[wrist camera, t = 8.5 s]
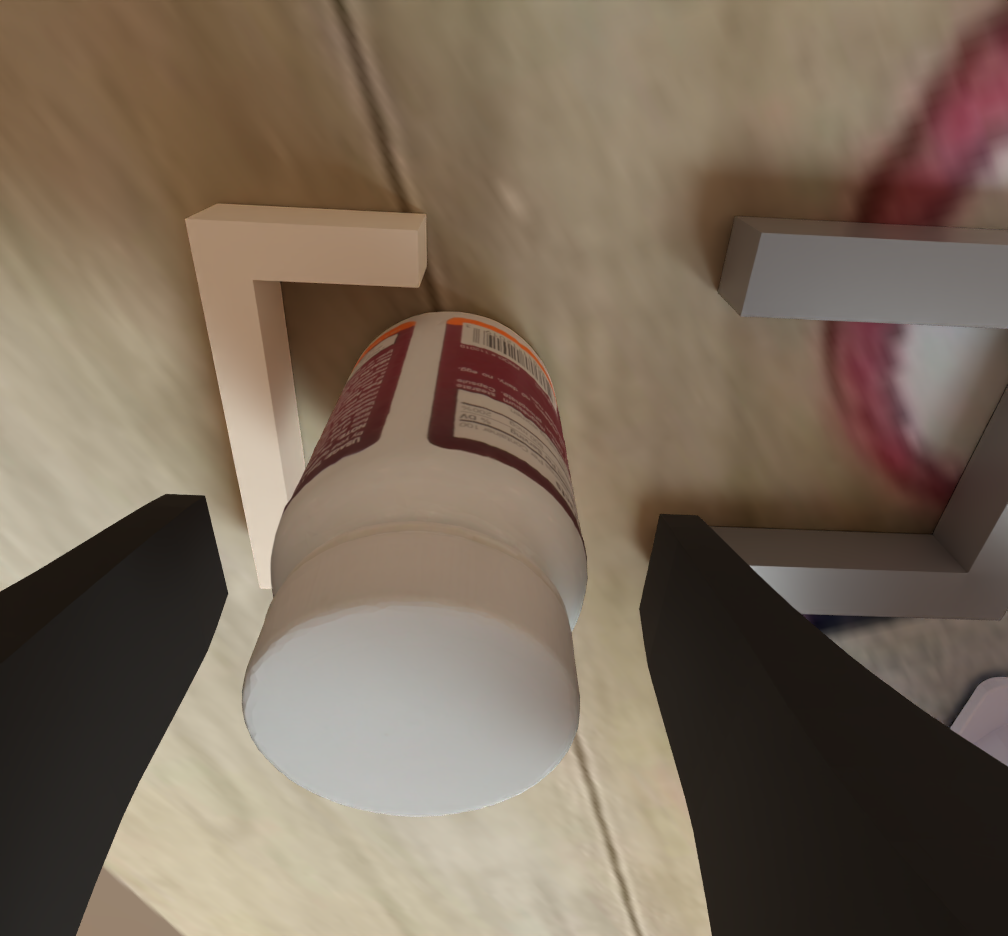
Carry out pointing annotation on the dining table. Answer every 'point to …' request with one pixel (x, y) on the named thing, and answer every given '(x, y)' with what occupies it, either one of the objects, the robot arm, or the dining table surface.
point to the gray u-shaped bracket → (901, 300)
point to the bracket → (281, 326)
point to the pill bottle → (426, 582)
